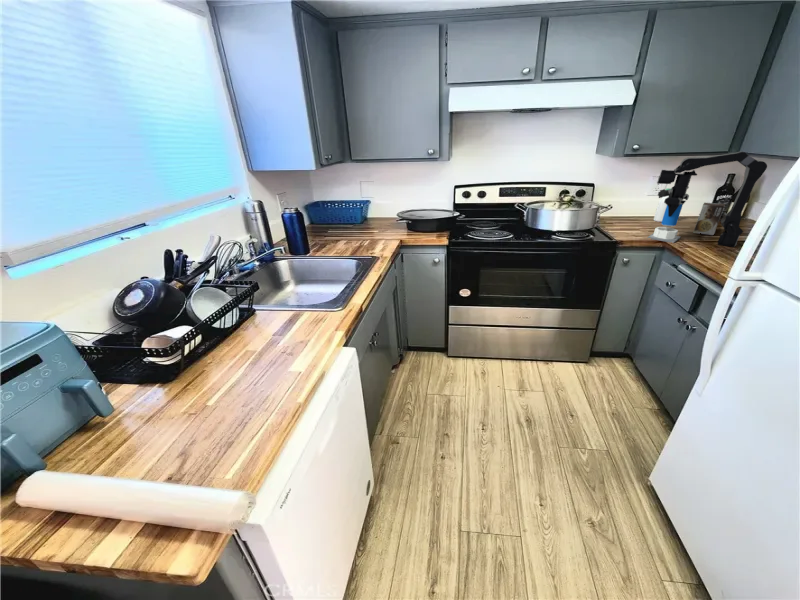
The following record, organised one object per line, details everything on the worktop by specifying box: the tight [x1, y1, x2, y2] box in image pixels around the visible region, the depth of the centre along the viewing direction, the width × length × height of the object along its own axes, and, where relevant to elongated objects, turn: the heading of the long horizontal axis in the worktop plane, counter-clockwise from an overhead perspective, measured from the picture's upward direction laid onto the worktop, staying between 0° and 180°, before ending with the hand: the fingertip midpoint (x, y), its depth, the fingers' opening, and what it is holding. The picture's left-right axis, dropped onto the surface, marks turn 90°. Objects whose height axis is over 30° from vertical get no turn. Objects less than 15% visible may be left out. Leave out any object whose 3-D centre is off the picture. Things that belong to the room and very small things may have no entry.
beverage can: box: [660, 203, 683, 228], centre depth 178 cm, size 6×6×12 cm
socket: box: [647, 226, 681, 244], centre depth 183 cm, size 12×12×5 cm
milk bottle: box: [653, 188, 671, 223], centre depth 213 cm, size 8×8×20 cm
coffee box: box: [693, 202, 726, 236], centre depth 188 cm, size 9×6×16 cm
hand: (671, 215), depth 178 cm, fingers closed on beverage can, 6 cm apart
